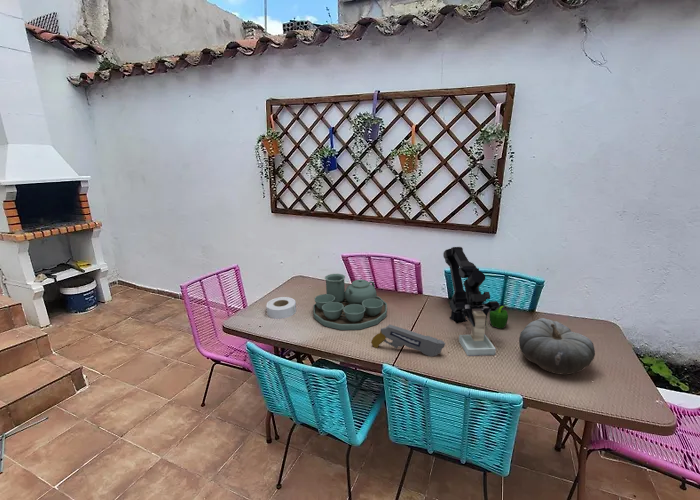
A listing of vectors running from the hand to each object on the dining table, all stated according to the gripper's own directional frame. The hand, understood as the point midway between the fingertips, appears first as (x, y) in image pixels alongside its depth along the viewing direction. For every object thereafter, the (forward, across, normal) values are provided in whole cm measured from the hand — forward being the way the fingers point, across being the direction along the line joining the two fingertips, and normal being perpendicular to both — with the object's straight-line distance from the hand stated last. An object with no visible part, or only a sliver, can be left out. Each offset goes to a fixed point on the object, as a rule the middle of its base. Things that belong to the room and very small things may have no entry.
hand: (479, 326), depth 143 cm
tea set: (-19, -54, +36) cm, 67 cm away
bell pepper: (-5, +17, +22) cm, 28 cm away
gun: (+8, -30, +8) cm, 33 cm away
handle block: (+4, 0, +6) cm, 7 cm away
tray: (+7, 0, +9) cm, 11 cm away
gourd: (+15, +27, +1) cm, 31 cm away
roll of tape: (-20, -92, +37) cm, 101 cm away
